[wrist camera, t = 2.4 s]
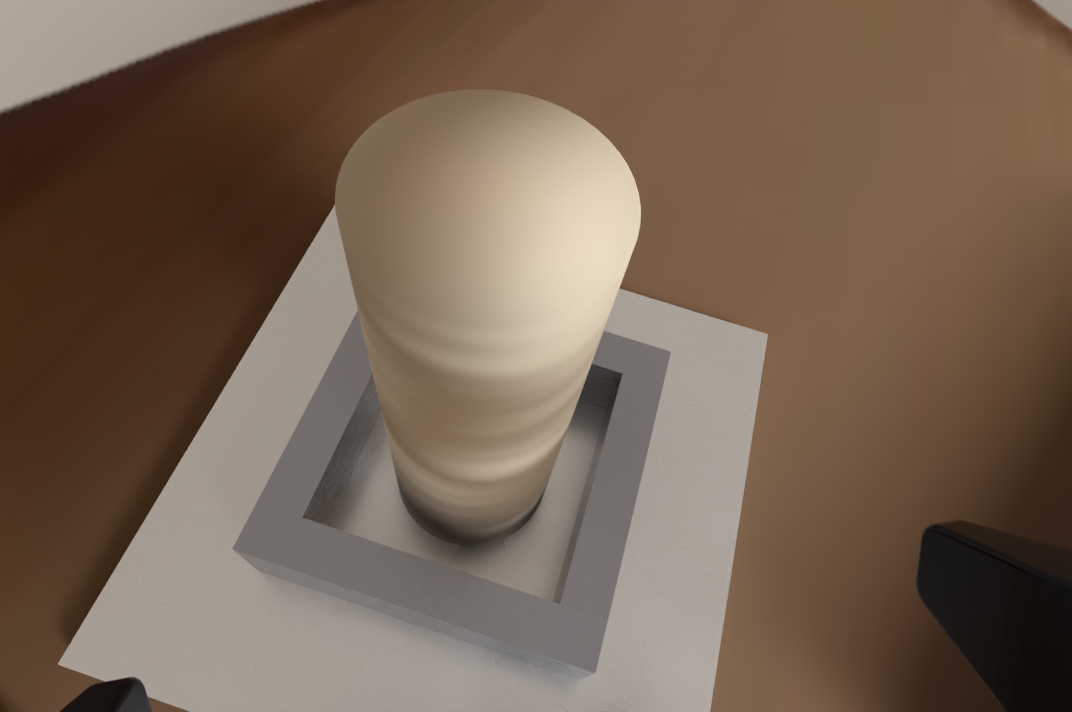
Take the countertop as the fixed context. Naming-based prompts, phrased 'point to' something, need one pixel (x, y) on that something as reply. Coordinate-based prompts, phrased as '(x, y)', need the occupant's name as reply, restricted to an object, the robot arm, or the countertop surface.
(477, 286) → the ash peg
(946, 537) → the robot arm
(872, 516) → the countertop surface
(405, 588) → the grey square socket base
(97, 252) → the countertop surface
